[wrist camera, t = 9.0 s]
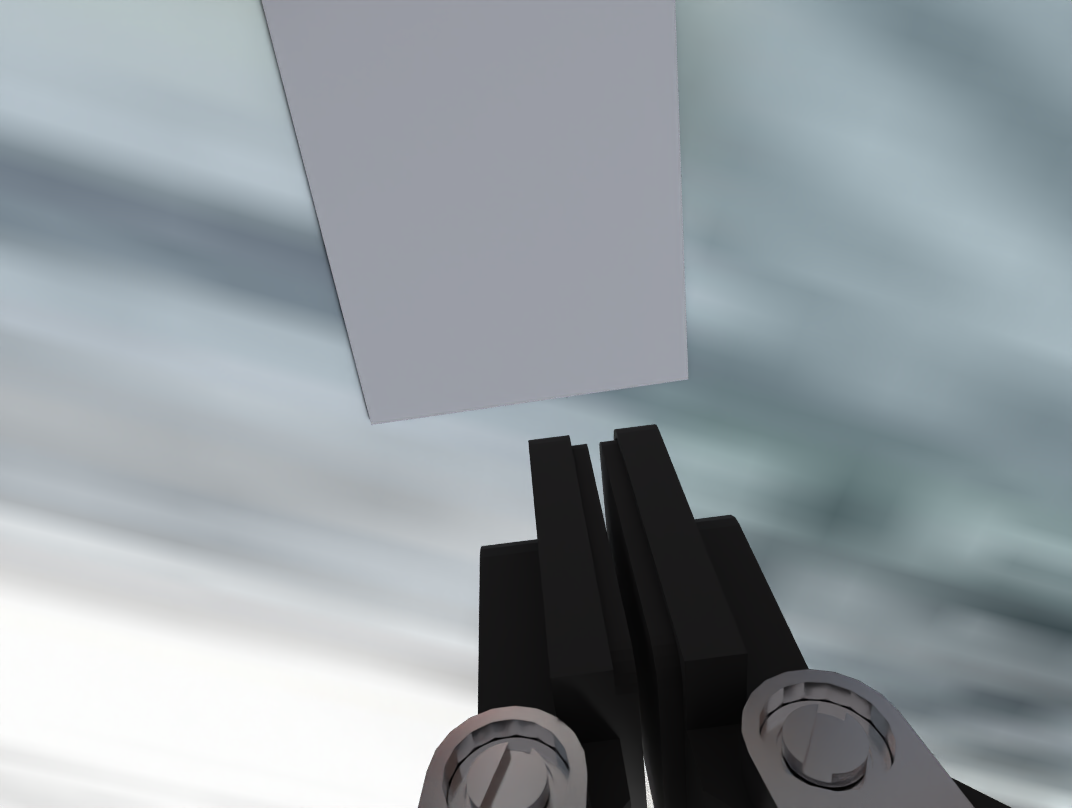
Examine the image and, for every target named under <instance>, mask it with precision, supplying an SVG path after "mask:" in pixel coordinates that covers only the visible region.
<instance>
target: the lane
mask: <svg viewBox="0 0 1072 808" xmlns="http://www.w3.org/2000/svg"><path fill="white" fill-rule="evenodd" d="M262 4H263V8H264V12H265V16H266V20H267V24H268V28H269V31H270V35H271V39H272V43H273V47H274V51H275V55H276V58H277V62H278V66H279V70H280V74H281V78H282V82H283V85H284V89H285V93H286V97H287V101H288V105H289V109H290V112H291V116H292V120H293V124H294V128H295V132H296V136H297V139H298V143H299V147H300V151H301V155H302V159H303V163H304V166H305V170H306V174H307V178H308V182H309V186H310V190H311V193H312V197H313V201H314V205H315V209H316V213H317V217H318V220H319V224H320V228H321V232H322V236H323V240H324V244H325V247H326V251H327V255H328V259H329V263H330V267H331V271H332V274H333V278H334V282H335V286H336V290H337V294H338V298H339V301H340V305H341V309H342V313H343V317H344V321H345V325H346V328H347V332H348V336H349V340H350V344H351V348H352V352H353V355H354V359H355V363H356V367H357V371H358V375H359V379H360V383H361V386H362V390H363V394H364V398H365V402H366V406H367V410H368V413H369V417H370V421H371V425H373V424H380V423H387V422H394V421H401V420H408V419H415V418H422V417H429V416H436V415H443V414H450V413H457V412H464V411H471V410H478V409H485V408H492V407H499V406H506V405H513V404H520V403H527V402H534V401H541V400H548V399H555V398H562V397H569V396H575V395H582V394H589V393H596V392H603V391H610V390H617V389H624V388H631V387H638V386H645V385H652V384H659V383H666V382H673V381H680V380H687V379H688V359H687V330H686V301H685V273H684V244H683V216H682V187H681V158H680V130H679V101H678V73H677V44H676V15H675V0H262Z"/></svg>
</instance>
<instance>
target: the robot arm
mask: <svg viewBox="0 0 1072 808" xmlns="http://www.w3.org/2000/svg"><path fill="white" fill-rule="evenodd" d="M528 442H529V453H530V464H531V474H532V485H533V496H534V507H535V518H536V528H537V539H536V540H528V541H520V542H512V543H504V544H496V545H488V546H482V547H481V549H480V592H479V669H478V715H475V716H473V717H470V718H469V719H467V720H466V721H465V722H463V723H462V724H461V725H459V726H458V727H456V728H455V729H454V730H452V731H451V732H450V733H449V734H448V735H447V737H446V738H445V739H444V740H443V742H442V743H441V744H440V745H439V747H438V748H437V749H436V750H435V753H434V755H433V758H432V760H431V762H430V765H429V767H428V770H427V772H426V776H425V780H424V784H423V789H422V793H421V797H420V801H419V805H418V808H647V801H646V787H645V773H644V761H645V766H646V771H647V775H648V780H649V785H650V790H651V795H652V800H653V804H654V808H1011V807H1009V806H1007V805H1005V804H1003V803H1001V802H999V801H997V800H995V799H993V798H991V797H989V796H987V795H985V794H983V793H981V792H979V791H977V790H975V789H973V788H971V787H969V786H967V785H965V784H963V783H961V782H959V781H957V780H955V779H953V778H951V777H950V776H949V775H948V773H947V772H946V771H945V769H944V768H943V767H942V766H941V764H940V763H939V762H938V760H937V759H936V758H935V757H934V755H933V754H932V753H931V751H930V750H929V749H928V748H927V746H926V745H925V744H924V742H923V741H922V740H921V739H920V737H919V736H918V735H917V733H916V732H915V731H914V730H913V728H912V727H911V726H910V725H909V723H908V722H907V721H906V719H905V718H904V717H903V716H902V714H901V713H900V712H899V711H898V710H897V709H896V708H895V707H894V706H893V705H892V704H891V703H890V702H889V701H888V700H887V699H886V698H885V697H884V696H883V695H882V694H880V693H879V692H877V691H875V690H874V689H872V688H871V687H869V686H867V685H866V684H864V683H862V682H861V681H859V680H856V679H853V678H850V677H847V676H844V675H842V674H839V673H836V672H830V671H822V670H813V669H808V667H807V665H806V663H805V660H804V658H803V656H802V654H801V652H800V650H799V648H798V646H797V644H796V642H795V640H794V637H793V635H792V633H791V631H790V629H789V627H788V625H787V623H786V621H785V619H784V617H783V614H782V612H781V610H780V608H779V606H778V604H777V602H776V600H775V598H774V596H773V594H772V591H771V589H770V587H769V585H768V583H767V581H766V579H765V577H764V575H763V573H762V571H761V568H760V566H759V564H758V562H757V560H756V558H755V556H754V554H753V552H752V550H751V548H750V545H749V543H748V541H747V539H746V537H745V535H744V533H743V531H742V529H741V527H740V525H739V523H738V521H737V520H736V518H735V517H734V516H732V515H725V516H718V517H710V518H702V519H694V517H693V515H692V512H691V510H690V507H689V505H688V502H687V500H686V497H685V494H684V492H683V489H682V487H681V484H680V482H679V479H678V477H677V474H676V472H675V469H674V467H673V464H672V462H671V459H670V457H669V454H668V452H667V449H666V447H665V444H664V442H663V439H662V437H661V434H660V431H659V429H658V427H657V425H655V424H653V425H646V426H638V427H630V428H622V429H614V441H606V442H600V460H601V471H602V483H603V494H604V505H605V517H606V527H605V522H604V518H603V513H602V509H601V504H600V500H599V495H598V491H597V486H596V482H595V477H594V473H593V468H592V464H591V460H590V455H589V451H588V446H587V444H582V445H575V446H571V441H570V437H569V435H567V436H559V437H551V438H543V439H535V440H529V441H528ZM606 528H607V531H606ZM643 756H644V760H643Z"/></svg>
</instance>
